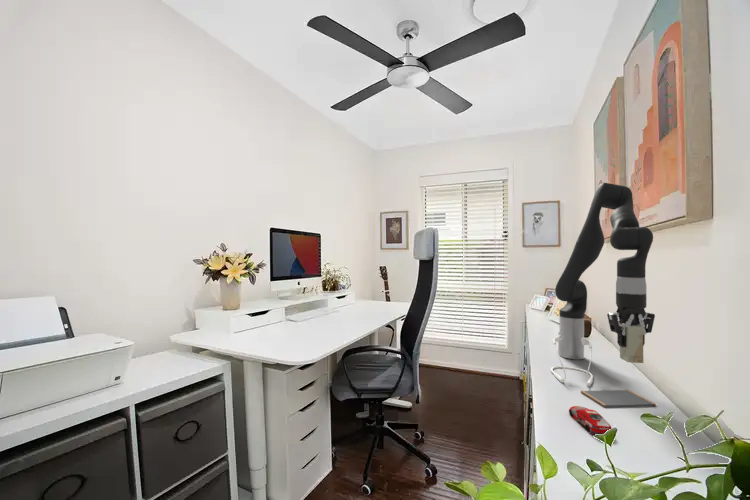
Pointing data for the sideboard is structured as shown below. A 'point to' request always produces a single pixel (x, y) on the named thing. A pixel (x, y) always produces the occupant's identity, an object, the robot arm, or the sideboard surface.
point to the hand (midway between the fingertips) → (630, 346)
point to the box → (633, 345)
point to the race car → (589, 419)
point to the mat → (617, 398)
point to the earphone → (584, 342)
